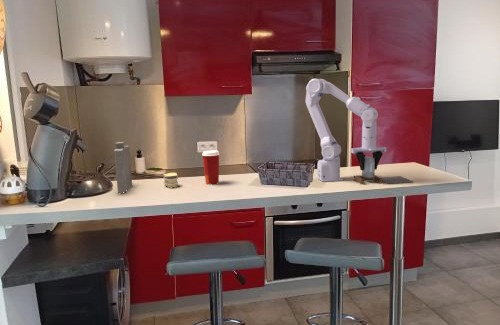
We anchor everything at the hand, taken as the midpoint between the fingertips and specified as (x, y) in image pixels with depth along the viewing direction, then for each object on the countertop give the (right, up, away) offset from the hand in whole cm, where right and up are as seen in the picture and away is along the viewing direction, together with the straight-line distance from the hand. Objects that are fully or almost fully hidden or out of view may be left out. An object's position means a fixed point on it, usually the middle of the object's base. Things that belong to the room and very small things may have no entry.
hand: (368, 169), depth 170 cm
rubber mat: (+12, -5, +2) cm, 13 cm away
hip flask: (-103, -9, +1) cm, 103 cm away
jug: (0, -3, 0) cm, 3 cm away
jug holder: (0, -5, +1) cm, 5 cm away
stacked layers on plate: (-83, -8, +4) cm, 84 cm away
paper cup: (-66, -6, +8) cm, 67 cm away
